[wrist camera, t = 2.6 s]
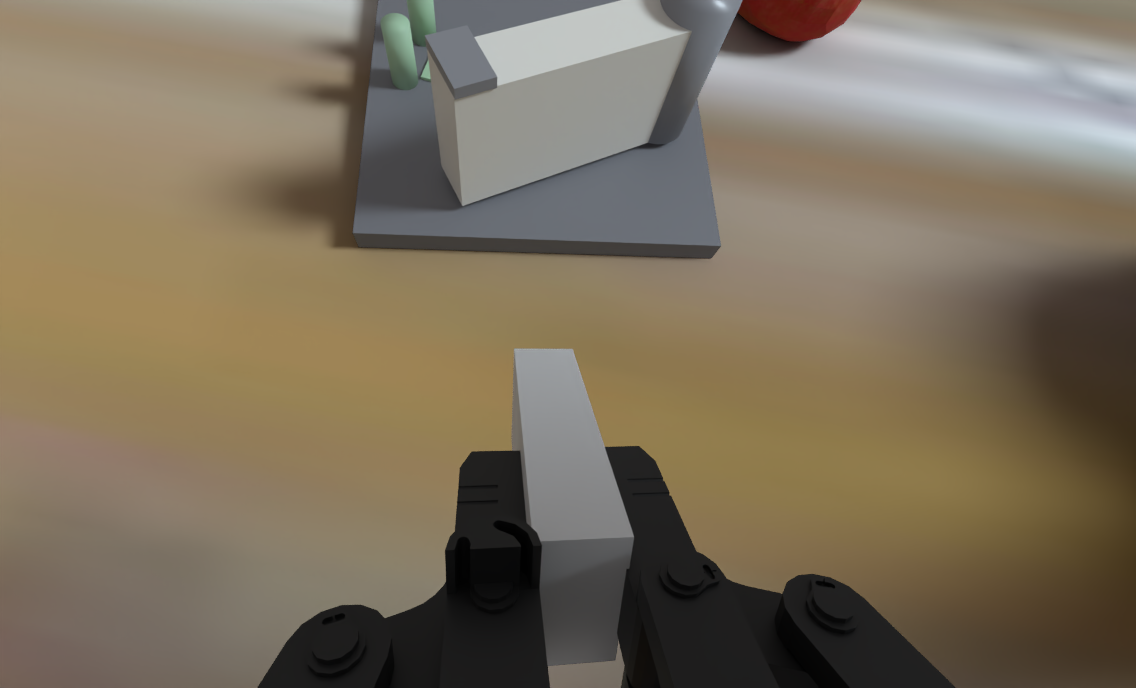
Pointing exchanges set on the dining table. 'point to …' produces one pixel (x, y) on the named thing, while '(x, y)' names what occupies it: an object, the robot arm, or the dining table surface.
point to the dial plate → (532, 211)
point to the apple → (797, 16)
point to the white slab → (568, 88)
